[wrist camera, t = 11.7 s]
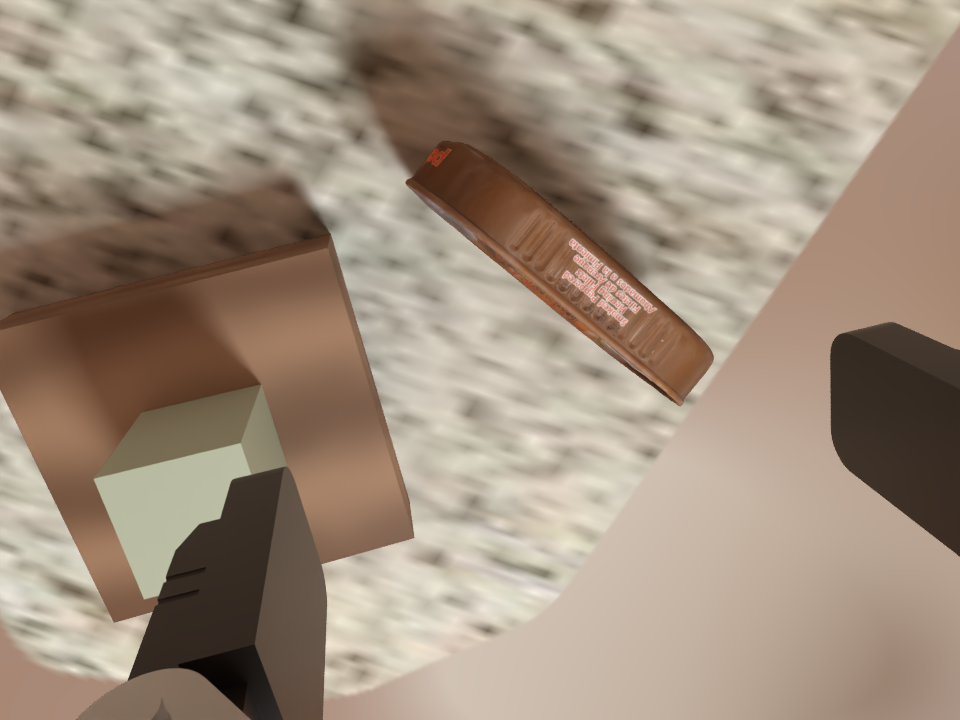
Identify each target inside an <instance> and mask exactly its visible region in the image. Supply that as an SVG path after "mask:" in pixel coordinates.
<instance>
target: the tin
mask: <svg viewBox="0 0 960 720" xmlns="http://www.w3.org/2000/svg"><path fill="white" fill-rule="evenodd" d="M405 183H406V185H407V186H408V187H409V188H410V189H411V190H412V191H413V192H415V194H416V195H417V196H418V197H419V198H420V199H421V200H422V201H423V202H424V203H425V204H427V205H428V206H429V207H430V208H431V209H432V210H433V211H435V212H436V213H437V214H438V215H439V216H441V217H442V218H443V219H444V220H445V221H447V222H448V223H449V224H450V225H452V226H453V227H455V228H456V229H457V230H458V231H459V232H460V233H461V234H463V235H464V236H465V237H466V238H467V239H468V240H470V241H471V242H472V243H473V244H474V245H476V246H477V247H478V248H479V249H481V250H482V251H483V252H484V253H485V254H487V255H488V256H489V257H490V258H491V259H493V260H494V261H495V262H496V263H498V264H499V265H500V266H501V267H503V268H504V269H505V270H506V271H507V272H509V273H510V274H511V275H512V276H513V277H515V278H516V279H517V280H518V281H520V282H521V283H522V284H523V285H525V286H526V287H527V288H528V289H529V290H530V291H532V292H533V293H534V294H535V295H537V296H538V297H539V298H540V299H541V300H543V301H544V302H545V303H546V304H547V305H549V306H550V307H551V308H552V309H553V310H555V311H556V312H557V313H558V314H560V315H561V316H562V317H563V318H565V319H566V320H567V321H568V322H569V323H571V324H572V325H573V326H574V327H576V328H577V329H578V330H579V331H581V332H582V333H583V334H584V335H586V336H587V337H588V338H590V339H591V340H592V341H594V342H595V343H596V344H597V345H598V346H599V347H601V348H602V349H603V350H604V351H606V352H607V353H608V354H610V355H611V356H612V357H613V358H615V359H616V360H617V361H619V362H620V363H621V364H623V365H624V366H625V367H627V368H628V369H629V370H630V371H632V372H633V373H635V374H636V375H637V376H639V377H640V378H641V379H643V380H644V381H645V382H647V383H648V384H650V385H651V386H653V387H654V388H655V389H656V390H658V391H659V392H660V393H661V394H663V395H664V396H666V397H667V398H669V399H670V400H671V401H673V402H674V403H676V404H677V405H678V406H682V404H683V402H684V399H685V397H686V396H687V395H688V394H689V392H690V391H691V390H692V389H693V388H694V386H695V385H696V384H697V383H698V381H699V380H700V379H701V378H702V377H703V375H704V374H705V373H706V372H707V370H708V369H709V367H710V366H711V364H712V363H713V360H714V356H713V353H712V351H711V349H710V348H709V347H708V345H707V344H706V343H705V342H704V341H703V339H702V338H701V337H700V336H699V335H698V334H697V333H696V332H695V331H694V330H693V329H692V328H691V327H689V326H688V325H687V324H686V323H685V322H684V321H683V320H682V319H681V318H680V317H679V316H678V315H677V314H675V313H674V312H673V311H672V310H671V309H670V308H669V307H668V306H666V305H665V304H664V303H663V302H662V301H661V300H660V299H658V298H657V297H656V296H655V295H654V294H653V293H652V292H651V291H650V290H649V289H648V288H646V287H645V286H644V285H643V284H642V283H641V282H639V281H638V280H637V279H636V278H635V277H634V276H633V275H632V274H631V273H630V272H628V271H627V270H626V269H625V268H624V267H623V266H622V265H620V264H619V263H618V262H617V261H616V260H615V259H614V258H612V257H611V256H610V255H609V254H608V253H607V252H606V251H604V250H603V249H602V248H601V247H600V246H599V245H598V244H596V243H595V242H594V241H593V240H592V239H590V238H589V237H588V236H587V235H586V234H585V233H584V232H582V231H581V230H580V229H579V228H578V227H577V226H575V225H574V224H573V223H572V222H571V221H570V220H568V219H567V218H566V217H565V216H564V215H562V214H561V213H560V212H559V211H558V210H557V209H555V208H554V207H553V206H552V205H551V204H550V203H549V202H547V201H546V200H545V199H544V198H543V197H541V196H540V195H539V194H538V193H536V192H535V191H534V190H533V189H531V188H530V187H529V186H528V185H526V184H525V183H524V182H523V181H521V180H520V179H519V178H517V177H516V176H515V175H514V174H512V173H511V172H510V171H508V170H507V169H505V168H504V167H503V166H501V165H500V164H498V163H497V162H495V161H494V160H493V159H491V158H490V157H488V156H487V155H485V154H483V153H482V152H480V151H479V150H477V149H475V148H473V147H471V146H469V145H467V144H464V143H459V142H449V141H443V142H441V143H440V144H438V145H437V147H436V148H435V149H434V150H433V151H432V153H431V154H430V155H429V157H428V158H427V159H426V161H425V162H424V164H423V165H422V166H421V167H420V169H419V170H418V171H417V172H416V174H415V175H414V176H413V177H412V178H411V179H408V180H407V181H406V182H405Z"/></svg>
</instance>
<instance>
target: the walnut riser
mask: <svg viewBox="0 0 960 720" xmlns="http://www.w3.org/2000/svg"><path fill="white" fill-rule="evenodd" d="M260 384H261V385H262V388H263V391H264V394H265V397H266V400H267V403H268V407H269V410H270V413H271V416H272V419H273V422H274V425H275V429H276V432H277V435H278V438H279V441H280V444H281V447H282V451H283V454H284V457H285V460H286V463H287V466H288V468H289V469H290V471H291V473H292V475H293V477H294V480H295V483H296V486H297V489H298V492H299V495H300V498H301V501H302V505H303V508H304V511H305V514H306V517H307V520H308V523H309V527H310V530H311V533H312V536H313V539H314V542H315V545H316V549H317V552H318V555H319V558H320V562H321V564H324V563H327V562H331V561H334V560H338V559H341V558H345V557H349V556H352V555H356V554H359V553H363V552H366V551H370V550H373V549H377V548H380V547H384V546H388V545H391V544H395V543H398V542H402V541H405V540H409V539H412V538H414V532H413V524H412V517H411V509H410V502H409V498H408V494H407V491H406V488H405V484H404V481H403V477H402V474H401V471H400V467H399V464H398V461H397V457H396V454H395V450H394V447H393V444H392V440H391V437H390V433H389V430H388V427H387V423H386V420H385V416H384V413H383V410H382V406H381V403H380V399H379V396H378V393H377V389H376V386H375V382H374V379H373V376H372V372H371V369H370V366H369V362H368V359H367V355H366V352H365V349H364V345H363V342H362V338H361V335H360V332H359V328H358V325H357V321H356V318H355V315H354V311H353V308H352V304H351V301H350V298H349V294H348V291H347V288H346V284H345V281H344V277H343V274H342V271H341V267H340V264H339V260H338V257H337V254H336V250H335V247H334V243H333V240H332V237H331V234H328V235H324V236H320V237H316V238H312V239H308V240H304V241H300V242H296V243H292V244H288V245H284V246H280V247H276V248H272V249H268V250H264V251H260V252H256V253H252V254H248V255H244V256H240V257H236V258H232V259H228V260H224V261H220V262H216V263H212V264H208V265H204V266H200V267H196V268H192V269H188V270H184V271H180V272H176V273H172V274H168V275H164V276H160V277H156V278H153V279H149V280H145V281H141V282H137V283H133V284H129V285H125V286H121V287H117V288H113V289H109V290H105V291H101V292H97V293H93V294H89V295H85V296H81V297H77V298H73V299H69V300H65V301H61V302H57V303H53V304H49V305H45V306H41V307H37V308H33V309H29V310H25V311H21V312H17V313H13V314H11V315H9V316H8V317H6V318H5V319H3V320H1V321H0V390H1V392H2V394H3V396H4V398H5V400H6V403H7V405H8V407H9V409H10V411H11V413H12V415H13V417H14V419H15V421H16V423H17V425H18V427H19V429H20V431H21V433H22V435H23V437H24V439H25V441H26V443H27V446H28V448H29V450H30V452H31V454H32V456H33V458H34V460H35V462H36V464H37V466H38V468H39V470H40V472H41V474H42V476H43V478H44V480H45V482H46V484H47V486H48V489H49V491H50V493H51V495H52V497H53V499H54V501H55V503H56V505H57V507H58V509H59V511H60V513H61V515H62V517H63V519H64V521H65V523H66V525H67V527H68V529H69V531H70V534H71V536H72V538H73V540H74V542H75V544H76V546H77V548H78V550H79V552H80V554H81V556H82V558H83V560H84V562H85V564H86V566H87V568H88V570H89V572H90V574H91V577H92V579H93V581H94V583H95V585H96V587H97V589H98V591H99V593H100V595H101V597H102V599H103V601H104V603H105V605H106V607H107V609H108V611H109V613H110V615H111V617H112V620H113V622H114V623H115V622H118V621H122V620H125V619H129V618H132V617H136V616H139V615H143V614H146V613H150V612H153V610H154V607H155V606H156V605H158V601H157V599H158V596H155V597H152V598H148V599H144V598H143V596H142V593H141V591H140V589H139V586H138V584H137V581H136V579H135V577H134V574H133V572H132V569H131V567H130V565H129V562H128V560H127V558H126V555H125V553H124V550H123V548H122V546H121V543H120V541H119V538H118V536H117V534H116V531H115V529H114V526H113V524H112V522H111V519H110V517H109V515H108V512H107V510H106V507H105V505H104V503H103V500H102V498H101V495H100V493H99V491H98V488H97V486H96V484H95V481H94V478H95V476H96V475H97V473H98V472H99V471H100V469H101V468H102V466H103V465H104V464H105V462H106V461H107V460H108V458H109V457H110V455H111V454H112V453H113V451H114V450H115V448H116V447H117V446H118V444H119V443H120V441H121V440H122V439H123V437H124V436H125V435H126V433H127V432H128V430H129V429H130V428H131V426H132V425H133V423H134V422H135V421H136V419H137V418H138V417H139V415H140V414H141V413H142V412H146V411H150V410H155V409H159V408H163V407H167V406H172V405H176V404H180V403H184V402H188V401H193V400H197V399H201V398H205V397H210V396H214V395H218V394H222V393H227V392H231V391H235V390H239V389H243V388H248V387H252V386H256V385H260Z"/></svg>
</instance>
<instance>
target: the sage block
mask: <svg viewBox="0 0 960 720" xmlns="http://www.w3.org/2000/svg"><path fill="white" fill-rule="evenodd" d="M285 466H287V463H286V460H285V457H284V454H283V451H282V447H281V444H280V441H279V438H278V435H277V432H276V429H275V425H274V422H273V419H272V416H271V413H270V410H269V407H268V403H267V400H266V397H265V394H264V391H263V388H262V385H261V384H260V385H256V386H252V387H248V388H243V389H239V390H235V391H231V392H227V393H222V394H218V395H214V396H210V397H205V398H201V399H197V400H193V401H188V402H184V403H180V404H176V405H172V406H167V407H163V408H159V409H155V410H150V411H146V412H142V413H141V414H140V415H139V417H138V418H137V419H136V421H135V422H134V423H133V425H132V426H131V428H130V429H129V430H128V432H127V433H126V435H125V436H124V437H123V439H122V440H121V441H120V443H119V444H118V446H117V447H116V448H115V450H114V451H113V453H112V454H111V455H110V457H109V458H108V460H107V461H106V462H105V464H104V465H103V466H102V468H101V469H100V471H99V472H98V473H97V475H96V476H95V478H94V481H95V484H96V486H97V488H98V491H99V493H100V495H101V498H102V500H103V503H104V505H105V507H106V510H107V512H108V515H109V517H110V519H111V522H112V524H113V526H114V529H115V531H116V534H117V536H118V538H119V541H120V543H121V546H122V548H123V550H124V553H125V555H126V558H127V560H128V562H129V565H130V567H131V569H132V572H133V574H134V577H135V579H136V581H137V584H138V586H139V589H140V591H141V593H142V596H143V598H144V599H148V598H152V597H155V596H159V594H160V591H161V588H162V586H163V583H164V582H166V575H167V572H168V569H169V566H170V564H171V561H172V558H173V555H174V553H175V550H176V549H177V548H178V547H179V546H180V545H181V544H182V542H183V541H184V540H185V539H186V538H187V537H188V536H189V535H190V534H191V533H192V531H193V530H194V529H195V528H196V527H197V526H198V525H199V524H201V523H205V522H209V521H213V520H217V519H220V517H221V514H222V510H223V507H224V503H225V500H226V497H227V493H228V490H229V486H230V483H231V481H232V480H233V479H235V478H239V477H243V476H248V475H252V474H256V473H260V472H264V471H268V470H272V469H277V468H281V467H285ZM287 467H288V466H287Z"/></svg>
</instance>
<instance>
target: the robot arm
mask: <svg viewBox="0 0 960 720" xmlns="http://www.w3.org/2000/svg"><path fill="white" fill-rule="evenodd" d="M830 355H831V356H830V358H831V359H830V361H831V362H830V364H831V365H830V367H831V368H830V369H831V435H832V440H833V444H834V447H835V450H836V452H837V454H838V456H839V457H840V459H841V461H842V463H843V464H844V465H845V467H846V468H847V469H848V470H849V471H850V472H852V473H853V474H854V475H855V476H857V477H858V478H859V479H861V480H862V481H863V482H864V483H866V484H867V485H868V486H870V487H871V488H872V489H873V490H875V491H876V492H877V493H879V494H880V495H881V496H882V497H884V498H885V499H886V500H888V501H889V502H890V503H891V504H893V505H894V506H895V507H897V508H898V509H899V510H901V511H902V512H903V513H904V514H906V515H907V516H908V517H910V518H911V519H912V520H913V521H915V522H916V523H917V524H919V525H920V526H921V527H922V528H924V529H925V530H926V531H928V532H929V533H930V534H932V535H933V536H934V537H935V538H937V539H938V540H939V541H940V542H942V543H943V544H944V545H946V546H947V547H948V548H949V549H951V550H952V551H954V552H955V553H956V554H957V555H958V556H960V350H957V349H954V348H951V347H949V346H947V345H944V344H942V343H940V342H938V341H935V340H933V339H931V338H929V337H926V336H924V335H922V334H919V333H917V332H915V331H913V330H910V329H908V328H906V327H903V326H901V325H899V324H896V323H893V322H888V323H883V324H879V325H875V326H871V327H867V328H863V329H858V330H854V331H850V332H846V333H842V334H839V335H838V336H837V337H836V338H835V339H834V341H833V343H832V347H831V354H830ZM157 601H158V605H156V606H155V607H154V610H153V613H152V616H151V618H150V621H149V624H148V626H147V629H146V632H145V635H144V637H143V640H142V643H141V646H140V648H139V651H138V654H137V657H136V659H135V662H134V665H133V667H132V670H131V673H130V676H129V678H128V681H127V682H125V683H123V684H121V685H119V686H117V687H116V688H114V689H112V690H111V691H109V692H108V693H106V694H105V695H103V696H102V697H101V698H99V699H98V700H97V701H95V702H94V703H93V704H92V705H90V706H89V707H88V708H87V709H86V710H85V711H84V712H83V713H82V714H81V715H80V716H79V717H78V718H77V719H76V720H323V696H324V670H325V644H326V618H327V595H326V586H325V580H324V574H323V570H322V565H321V562H320V558H319V555H318V552H317V549H316V545H315V542H314V539H313V536H312V533H311V530H310V527H309V523H308V520H307V517H306V514H305V511H304V508H303V505H302V501H301V498H300V495H299V492H298V489H297V486H296V483H295V480H294V477H293V475H292V473H291V471H290V469H289V468H288V467H287V466H285V467H281V468H277V469H272V470H268V471H264V472H260V473H256V474H252V475H248V476H243V477H239V478H235V479H233V480H232V481H231V483H230V486H229V490H228V493H227V497H226V500H225V503H224V507H223V510H222V514H221V517H220V519H217V520H213V521H209V522H205V523H201V524H199V525H198V526H197V527H196V528H195V529H194V530H193V531H192V533H191V534H190V535H189V536H188V537H187V538H186V539H185V540H184V541H183V542H182V544H181V545H180V546H179V547H178V548H177V549H176V550H175V553H174V555H173V558H172V561H171V564H170V566H169V569H168V572H167V575H166V582H164V583H163V586H162V588H161V591H160V594H159V596H158V599H157Z"/></svg>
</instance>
